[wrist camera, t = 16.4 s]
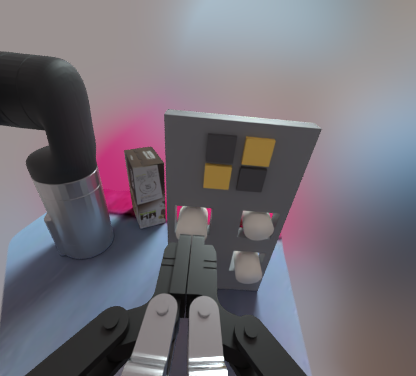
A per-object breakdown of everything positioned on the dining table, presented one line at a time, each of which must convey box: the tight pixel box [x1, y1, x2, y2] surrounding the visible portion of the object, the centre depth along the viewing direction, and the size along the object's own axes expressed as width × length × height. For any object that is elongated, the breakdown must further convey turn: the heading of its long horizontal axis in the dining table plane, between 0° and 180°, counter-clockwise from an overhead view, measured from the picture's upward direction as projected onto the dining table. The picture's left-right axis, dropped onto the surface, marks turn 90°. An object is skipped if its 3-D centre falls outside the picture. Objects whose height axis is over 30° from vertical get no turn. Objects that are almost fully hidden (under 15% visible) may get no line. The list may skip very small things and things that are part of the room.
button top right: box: [241, 211, 274, 241], centre depth 30 cm, size 4×4×4 cm
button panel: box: [164, 109, 321, 291], centre depth 32 cm, size 9×16×30 cm, turn 89°
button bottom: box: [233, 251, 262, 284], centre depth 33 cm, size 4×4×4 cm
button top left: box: [176, 206, 208, 245], centre depth 28 cm, size 4×4×4 cm
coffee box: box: [124, 147, 166, 229], centre depth 48 cm, size 9×6×16 cm
